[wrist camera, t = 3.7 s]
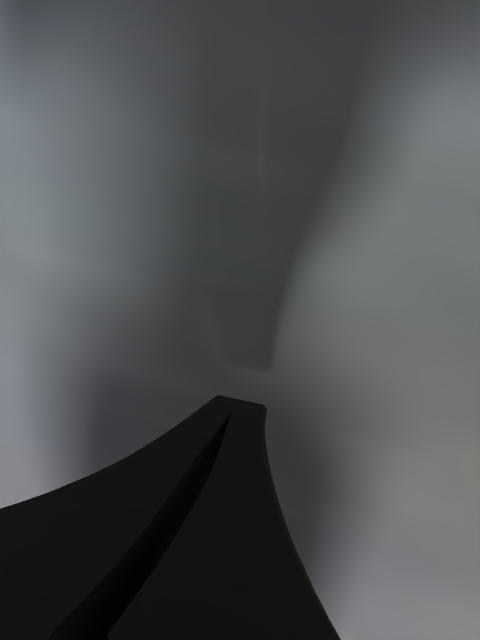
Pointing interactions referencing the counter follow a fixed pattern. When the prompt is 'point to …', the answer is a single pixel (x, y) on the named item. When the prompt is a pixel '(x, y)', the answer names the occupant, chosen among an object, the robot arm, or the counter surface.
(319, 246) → the counter surface
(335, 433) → the counter surface
